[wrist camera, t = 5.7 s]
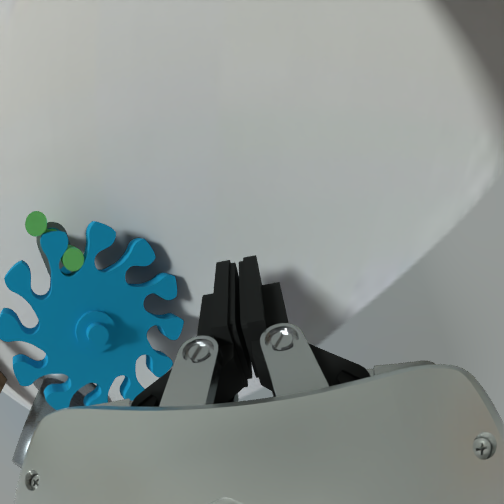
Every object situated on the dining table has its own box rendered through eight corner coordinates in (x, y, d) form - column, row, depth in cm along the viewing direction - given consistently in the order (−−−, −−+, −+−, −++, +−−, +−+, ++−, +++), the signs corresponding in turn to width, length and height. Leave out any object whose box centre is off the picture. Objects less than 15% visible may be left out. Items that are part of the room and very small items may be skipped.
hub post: (75, 361, 19) (36, 467, 10) (120, 413, 22) (102, 502, 14) (19, 358, 19) (-19, 440, 10) (63, 407, 23) (40, 481, 14)
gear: (212, 358, 16) (75, 451, 10) (164, 328, 20) (55, 396, 14) (146, 167, 12) (-53, 258, 6) (109, 181, 16) (-28, 245, 10)
